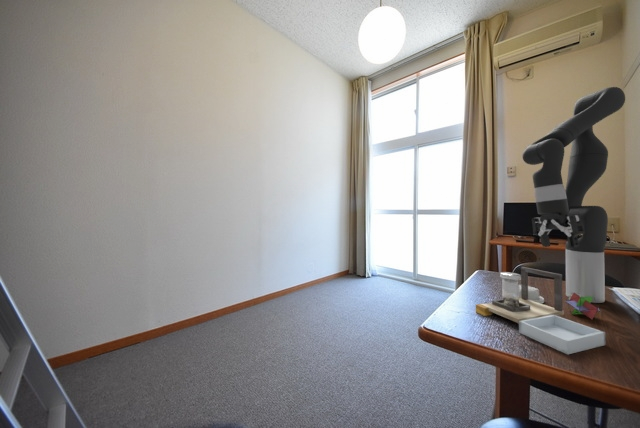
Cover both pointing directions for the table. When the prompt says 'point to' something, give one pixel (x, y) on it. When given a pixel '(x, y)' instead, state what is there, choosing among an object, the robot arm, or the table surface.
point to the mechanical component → (533, 294)
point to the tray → (562, 333)
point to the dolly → (526, 301)
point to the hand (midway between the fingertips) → (559, 247)
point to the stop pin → (510, 288)
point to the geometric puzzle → (582, 305)
